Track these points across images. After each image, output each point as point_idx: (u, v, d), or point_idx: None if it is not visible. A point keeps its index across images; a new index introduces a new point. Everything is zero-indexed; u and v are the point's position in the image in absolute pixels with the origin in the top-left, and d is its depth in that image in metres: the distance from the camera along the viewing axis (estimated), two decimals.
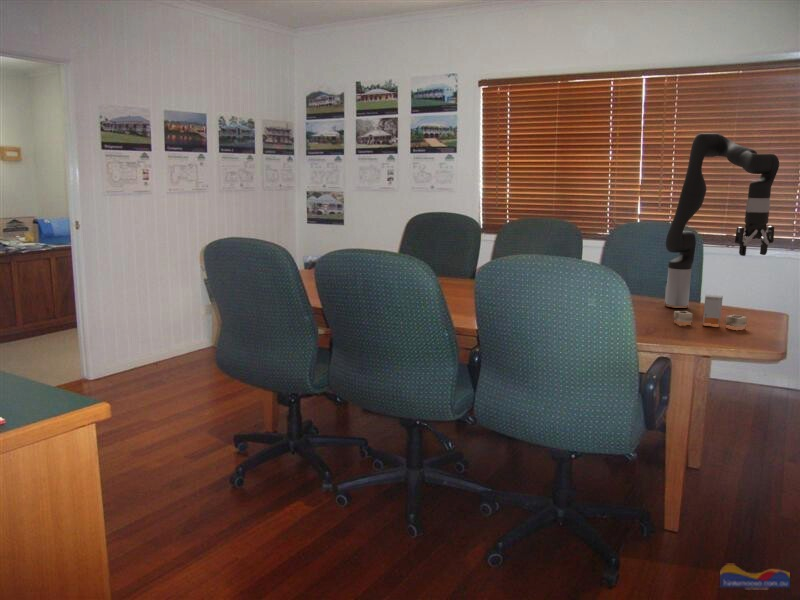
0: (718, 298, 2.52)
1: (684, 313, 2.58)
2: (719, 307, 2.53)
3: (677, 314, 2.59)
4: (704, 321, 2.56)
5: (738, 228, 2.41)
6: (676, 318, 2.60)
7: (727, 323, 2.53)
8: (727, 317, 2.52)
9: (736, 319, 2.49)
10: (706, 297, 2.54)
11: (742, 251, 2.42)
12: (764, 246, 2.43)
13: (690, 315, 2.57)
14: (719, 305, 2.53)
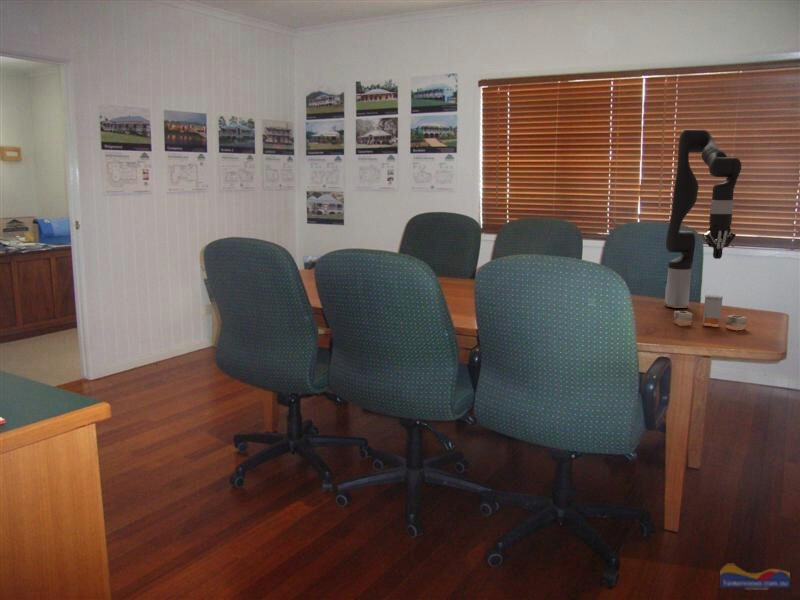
0: (718, 298, 2.52)
1: (684, 313, 2.58)
2: (719, 307, 2.53)
3: (677, 314, 2.59)
4: (704, 321, 2.56)
5: (704, 236, 2.50)
6: (676, 318, 2.60)
7: (727, 323, 2.53)
8: (727, 317, 2.52)
9: (736, 319, 2.49)
10: (706, 297, 2.54)
11: (716, 254, 2.51)
12: None
13: (690, 315, 2.57)
14: (719, 305, 2.53)
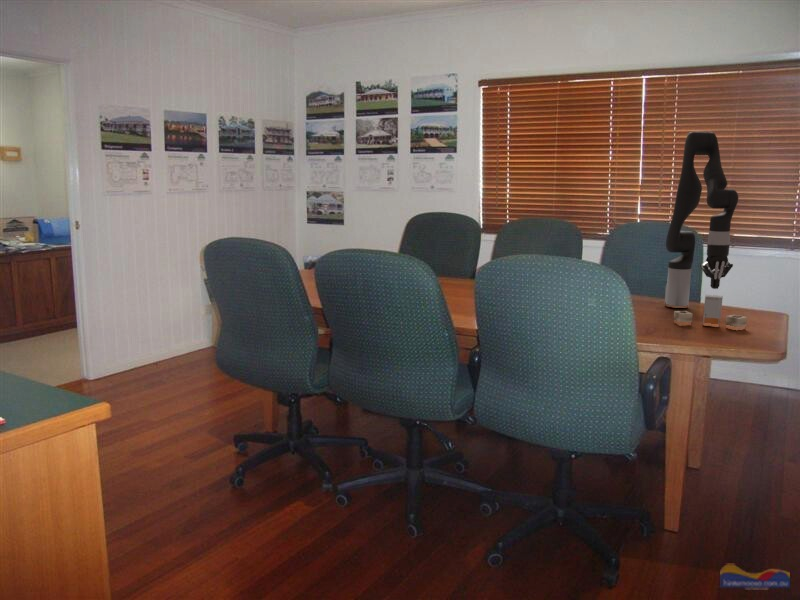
0: (718, 298, 2.52)
1: (684, 313, 2.58)
2: (719, 307, 2.53)
3: (677, 314, 2.59)
4: (704, 321, 2.56)
5: (701, 266, 2.52)
6: (676, 318, 2.60)
7: (727, 323, 2.53)
8: (727, 317, 2.52)
9: (736, 319, 2.49)
10: (706, 297, 2.54)
11: (713, 284, 2.53)
12: None
13: (690, 315, 2.57)
14: (719, 305, 2.53)
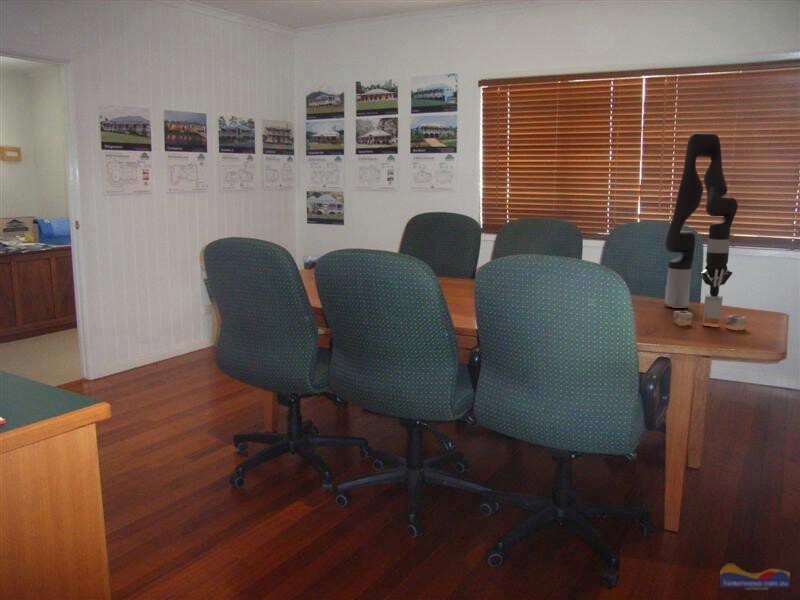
0: (718, 298, 2.52)
1: (684, 313, 2.58)
2: (719, 307, 2.53)
3: (677, 314, 2.59)
4: (704, 321, 2.56)
5: (701, 274, 2.52)
6: (676, 318, 2.60)
7: (727, 323, 2.53)
8: (727, 317, 2.52)
9: (736, 319, 2.49)
10: (706, 297, 2.54)
11: (712, 292, 2.54)
12: None
13: (690, 315, 2.57)
14: (719, 305, 2.53)
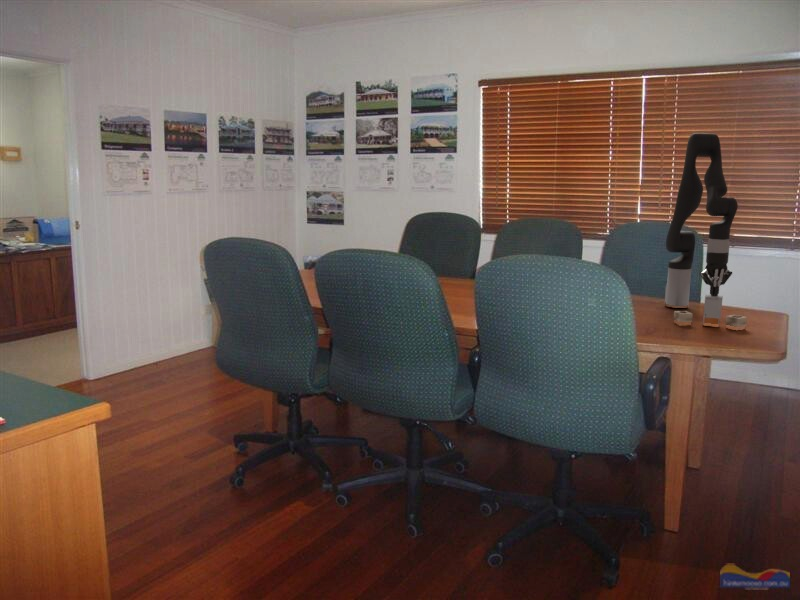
0: (718, 298, 2.52)
1: (684, 313, 2.58)
2: (719, 307, 2.53)
3: (677, 314, 2.59)
4: (704, 321, 2.56)
5: (701, 274, 2.52)
6: (676, 318, 2.60)
7: (727, 323, 2.53)
8: (727, 317, 2.52)
9: (736, 319, 2.49)
10: (706, 297, 2.54)
11: (712, 292, 2.54)
12: None
13: (690, 315, 2.57)
14: (719, 305, 2.53)
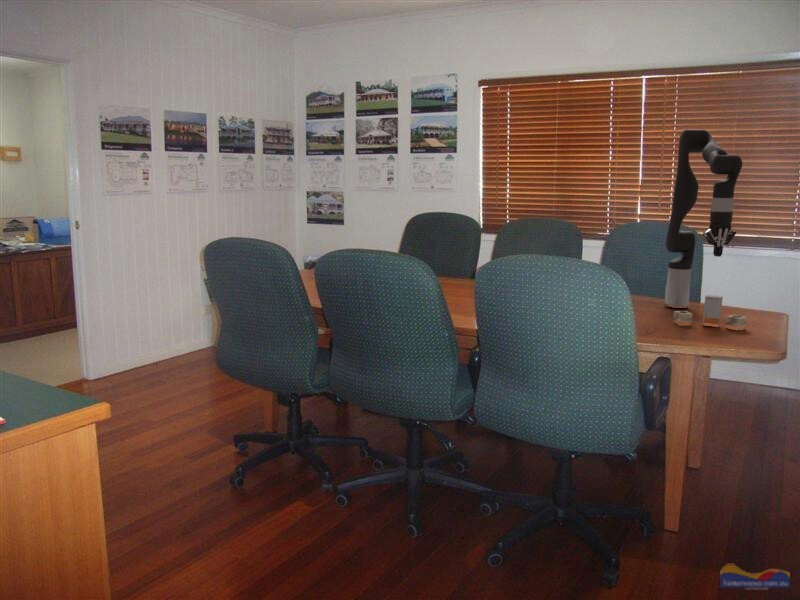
0: (718, 298, 2.52)
1: (684, 313, 2.58)
2: (719, 307, 2.53)
3: (677, 314, 2.59)
4: (704, 321, 2.56)
5: (704, 234, 2.49)
6: (676, 318, 2.60)
7: (727, 323, 2.53)
8: (727, 317, 2.52)
9: (736, 319, 2.49)
10: (706, 297, 2.54)
11: (716, 252, 2.51)
12: None
13: (690, 315, 2.57)
14: (719, 305, 2.53)
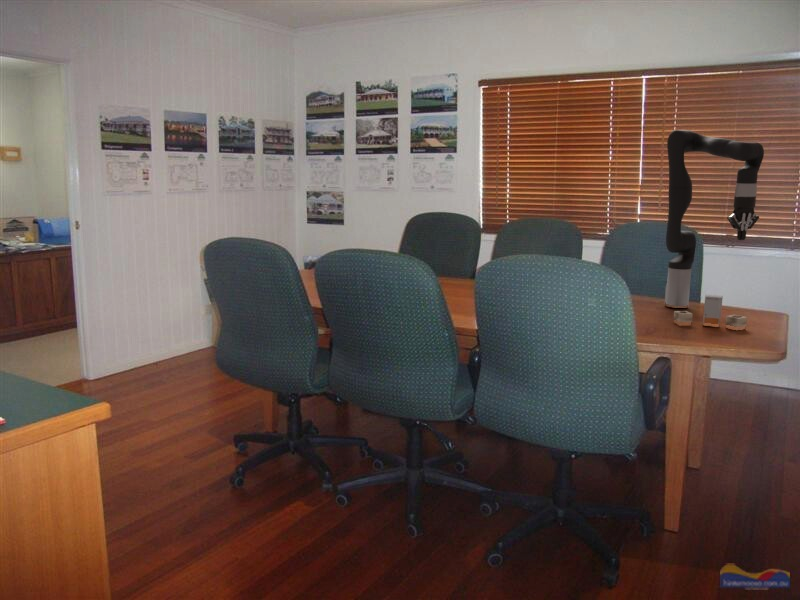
0: (718, 298, 2.52)
1: (684, 313, 2.58)
2: (719, 307, 2.53)
3: (677, 314, 2.59)
4: (704, 321, 2.56)
5: (728, 218, 2.59)
6: (676, 318, 2.60)
7: (727, 323, 2.53)
8: (727, 317, 2.52)
9: (736, 319, 2.49)
10: (706, 297, 2.54)
11: (740, 236, 2.61)
12: None
13: (690, 315, 2.57)
14: (719, 305, 2.53)
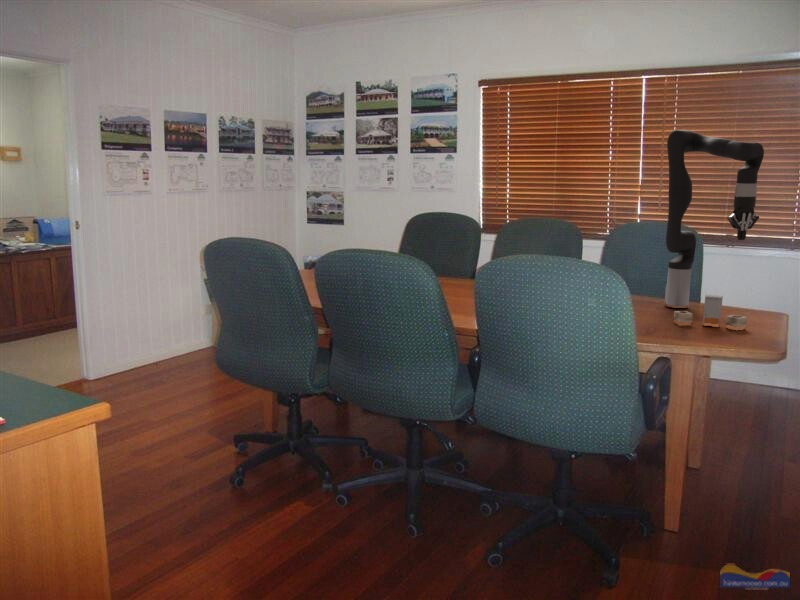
0: (718, 298, 2.52)
1: (684, 313, 2.58)
2: (719, 307, 2.53)
3: (677, 314, 2.59)
4: (704, 321, 2.56)
5: (728, 218, 2.59)
6: (676, 318, 2.60)
7: (727, 323, 2.53)
8: (727, 317, 2.52)
9: (736, 319, 2.49)
10: (706, 297, 2.54)
11: (740, 236, 2.61)
12: None
13: (690, 315, 2.57)
14: (719, 305, 2.53)
